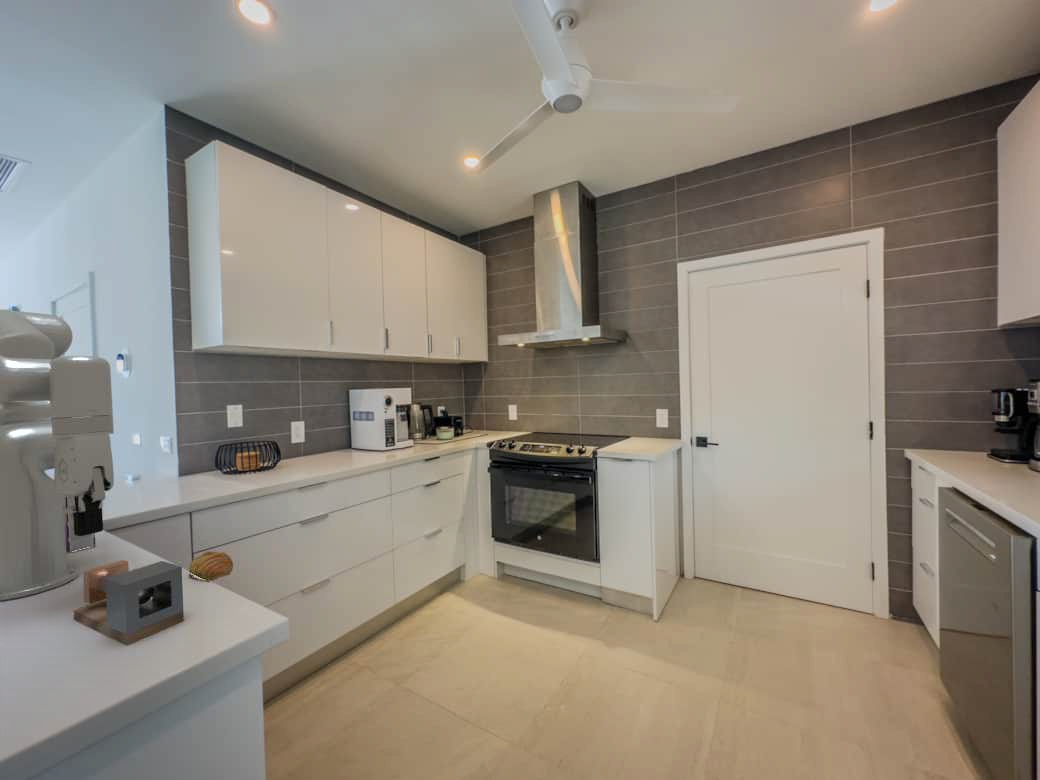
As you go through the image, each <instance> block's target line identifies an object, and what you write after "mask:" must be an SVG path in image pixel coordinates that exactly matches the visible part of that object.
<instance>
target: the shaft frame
mask: <svg viewBox="0 0 1040 780" xmlns="http://www.w3.org/2000/svg"><path fill="white" fill-rule="evenodd" d="M182 567H183V566H181V565H177V564H174V563H171V562H167V561H163V560H161V561H158V562H154V563H152V564H148V565H144V566H142V567H139V568H135V569H132V570H129V571H128V572H125V573H122V574H119V575H116V576H112V577H109V578H106V599H104V600H101V601H98V602H95V603H92V604H87V605H84V606H81V607H78V608H76V609H73V620H75V621H77V622H78V623H81V624H82V625H85V626H86V627H88V628H91V629H93V630H95V631H97V632H99V633H101V634H103V635H105V636H107V637H109V636H110V637H109V638H111V637H112V638H111V639H113V638H114V639H113V640H115V639H116V641H117V642H119V641H120V642H119V643H122V644H123V645H125V646H128V645H131V644H133V643H136V642H139V640H142V639H145V638H147V637H149V636H151V635H154V634H156V633H159V632H161V631H163V630H166V629H169V628H170V627H173V626H175V625H177V624H180V623H182V622H184V621H185V620H184V618H185V616H184V593H183V592H184V590H183V589H184V588H183V568H182ZM152 586H153V587H154V594H153V596H152V597H151V599H150V600H148V601H147V602H146V603H144V604H141V605H139V595H138V591H141V590H144V589H147V588H149V587H152Z"/></svg>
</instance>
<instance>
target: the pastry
mask: <svg viewBox="0 0 1040 780" xmlns="http://www.w3.org/2000/svg"><path fill="white" fill-rule="evenodd" d="M233 570H234V562H233V560H232V557H230V556H229V555H228V554H227V553H226V552H224V551H223V552H222V551H221V552H218V551H215V550H214V551H205V552H203V553H201V554H200V555H198V556H196V557H195V558H194V559H193V560H192V561H191V562H190V565H189V567H188V573H189V572H190V573H192V574H194V575H196V576H198V577H200V578H202V579H205V580H207V581H206V582H209V581H210V582H212V581H215V580H218V579H220V578H223V577H227V576H229V575H231V573H232V572H233ZM189 576H190V577H192V576H193V575H191V574H189ZM193 577H194V576H193Z"/></svg>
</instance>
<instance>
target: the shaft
mask: <svg viewBox="0 0 1040 780" xmlns="http://www.w3.org/2000/svg"><path fill="white" fill-rule="evenodd" d="M129 569H130V568H129V561H128V560H125V559H121V560H117V561H113V562H110V563H107V564H104V565H103V564H102V565H100V566H97V567H94V568H93V567H92V568H90V569H87V570H83V571H82V573H83V574H82V575H83V576H82V578H83V601H84V602H83V603H85V604H87V605H89V604H92V603H95V602H98V601H101V600H104V599H106V578H109V577H112V576H116V575H119V574H122V573H125V572H128V571H130V570H129ZM153 594H154V587H153V586H152V587H149V588H147V589H144V590H141V591H138V595H139V605H141V604H144V603H146V602H147V601H148V600H150V599H152V596H153Z"/></svg>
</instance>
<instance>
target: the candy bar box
mask: <svg viewBox="0 0 1040 780" xmlns="http://www.w3.org/2000/svg"><path fill="white" fill-rule="evenodd" d="M64 503H65V530H66V550H67V551H68V552H72V551H75V550H79V549H83V548H87V547H92V546H95V547H96V533H93V534H89V535H84V536H76V535H74V519H73V513H74V512H73V508H72V499H71V498H70V496H66V495H64ZM67 551H66V552H67ZM72 553H73V552H72Z"/></svg>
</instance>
